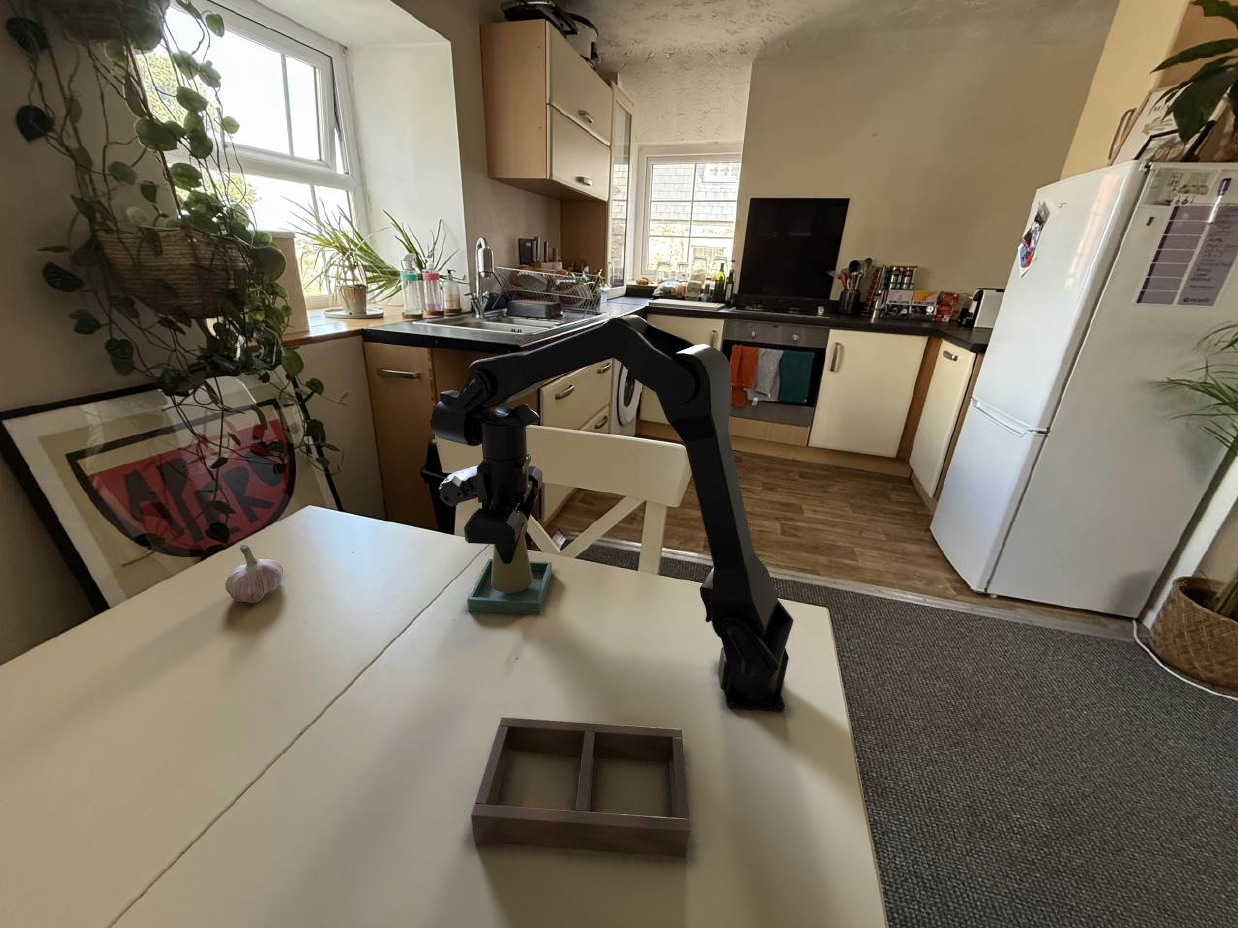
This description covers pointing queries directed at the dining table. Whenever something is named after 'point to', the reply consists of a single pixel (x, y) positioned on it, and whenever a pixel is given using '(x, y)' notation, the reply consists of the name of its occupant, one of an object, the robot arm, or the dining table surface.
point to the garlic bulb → (253, 578)
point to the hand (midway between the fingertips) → (511, 553)
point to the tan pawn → (513, 567)
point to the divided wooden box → (583, 790)
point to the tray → (516, 602)
